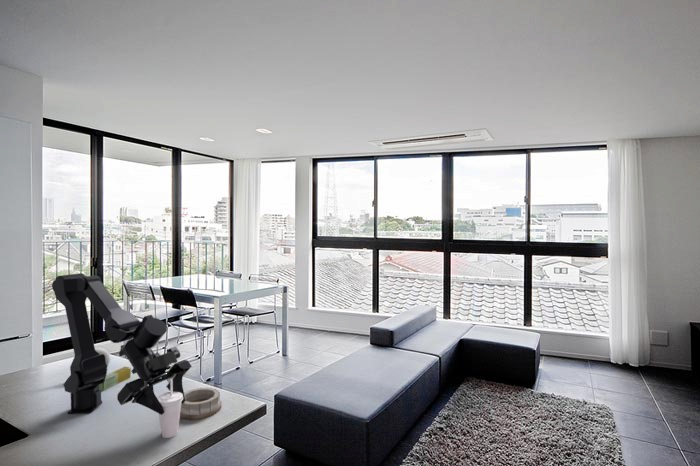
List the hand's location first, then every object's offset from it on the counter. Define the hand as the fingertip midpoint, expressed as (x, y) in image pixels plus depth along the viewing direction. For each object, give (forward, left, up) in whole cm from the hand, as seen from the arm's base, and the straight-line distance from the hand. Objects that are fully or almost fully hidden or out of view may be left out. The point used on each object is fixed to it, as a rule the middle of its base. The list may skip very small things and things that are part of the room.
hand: (173, 407), depth 101 cm
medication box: (-30, +35, -7) cm, 47 cm away
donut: (-40, +43, -7) cm, 59 cm away
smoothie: (-1, +1, -7) cm, 7 cm away
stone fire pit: (+3, +14, -7) cm, 16 cm away
